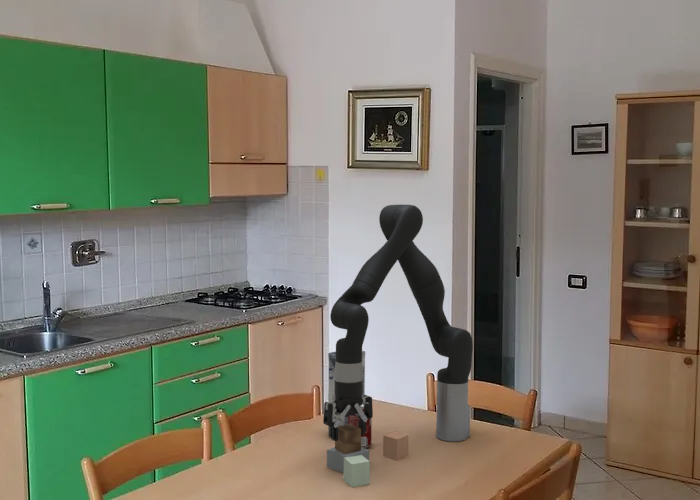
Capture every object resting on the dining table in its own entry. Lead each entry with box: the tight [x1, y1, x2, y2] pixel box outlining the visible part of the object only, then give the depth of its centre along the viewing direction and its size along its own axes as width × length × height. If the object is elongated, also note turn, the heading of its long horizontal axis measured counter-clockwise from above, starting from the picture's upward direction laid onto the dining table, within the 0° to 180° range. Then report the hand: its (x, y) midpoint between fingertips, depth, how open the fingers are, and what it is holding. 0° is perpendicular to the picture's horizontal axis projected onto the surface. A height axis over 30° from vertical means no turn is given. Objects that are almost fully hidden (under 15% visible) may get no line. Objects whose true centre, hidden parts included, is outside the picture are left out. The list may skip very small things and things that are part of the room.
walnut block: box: [334, 424, 361, 454], centre depth 210 cm, size 5×5×6 cm
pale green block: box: [343, 455, 371, 488], centre depth 200 cm, size 5×5×6 cm
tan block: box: [382, 431, 410, 461], centre depth 219 cm, size 5×5×6 cm
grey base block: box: [326, 446, 370, 474], centre depth 210 cm, size 8×8×5 cm
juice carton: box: [327, 350, 366, 438], centre depth 235 cm, size 9×10×27 cm
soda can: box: [348, 403, 373, 449], centre depth 226 cm, size 7×7×12 cm
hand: (348, 437), depth 210 cm, fingers open, 8 cm apart
